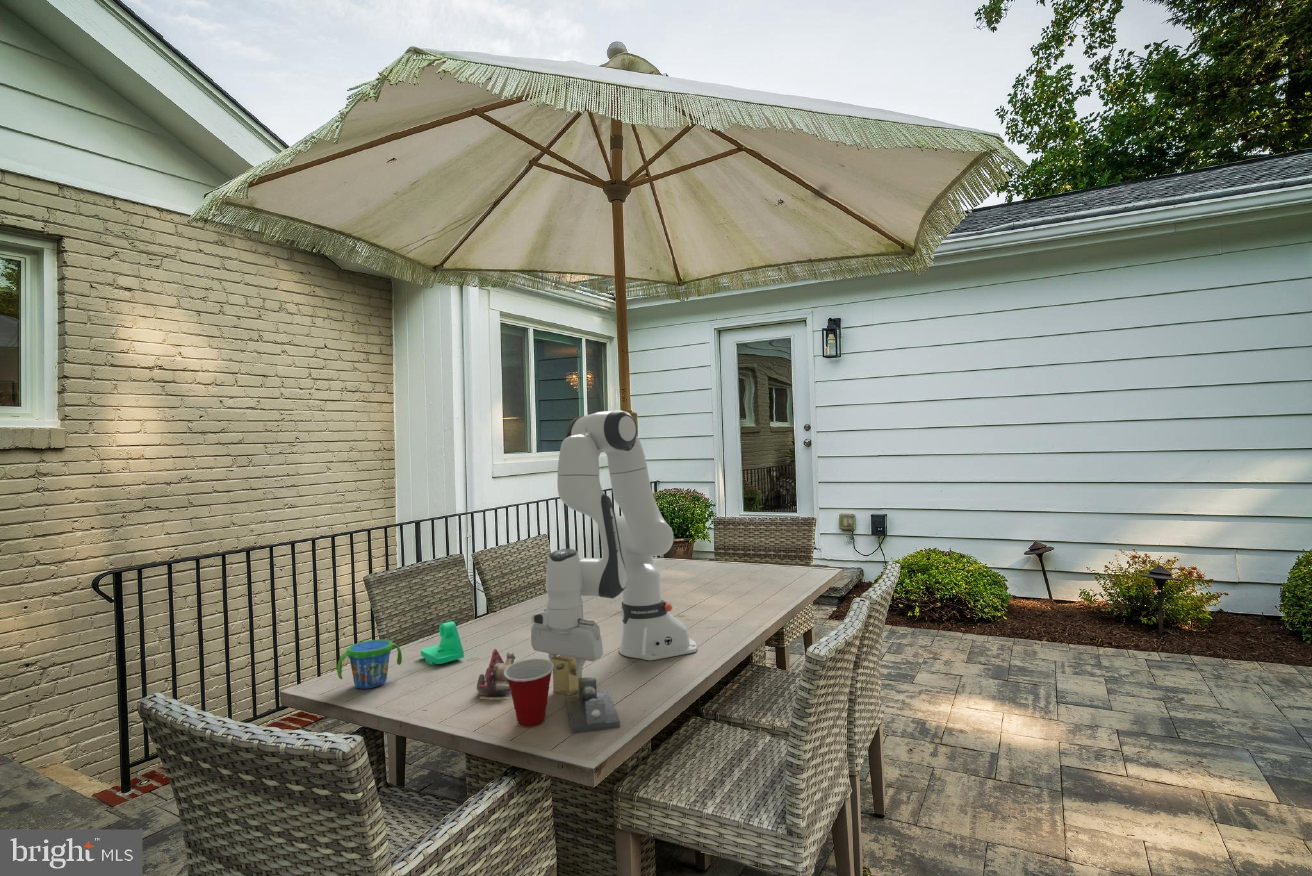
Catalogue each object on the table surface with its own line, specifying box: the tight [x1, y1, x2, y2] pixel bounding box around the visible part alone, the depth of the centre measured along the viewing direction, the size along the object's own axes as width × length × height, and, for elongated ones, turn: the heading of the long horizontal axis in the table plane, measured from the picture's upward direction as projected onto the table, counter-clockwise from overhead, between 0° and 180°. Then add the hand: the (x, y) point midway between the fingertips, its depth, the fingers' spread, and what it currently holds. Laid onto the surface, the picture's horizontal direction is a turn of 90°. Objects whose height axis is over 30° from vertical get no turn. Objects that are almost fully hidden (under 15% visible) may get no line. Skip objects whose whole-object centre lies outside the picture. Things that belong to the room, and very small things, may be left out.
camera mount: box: [420, 620, 465, 666], centre depth 182 cm, size 12×8×10 cm, turn 44°
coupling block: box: [552, 655, 583, 696], centre depth 156 cm, size 7×5×8 cm
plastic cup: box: [504, 658, 554, 728], centre depth 139 cm, size 11×11×12 cm
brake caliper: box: [476, 648, 516, 701], centre depth 157 cm, size 11×10×11 cm
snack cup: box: [336, 639, 403, 690], centre depth 165 cm, size 16×10×10 cm
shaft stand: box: [565, 676, 621, 734], centre depth 142 cm, size 10×17×5 cm, turn 13°
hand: (567, 673), depth 156 cm, fingers closed on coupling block, 5 cm apart
